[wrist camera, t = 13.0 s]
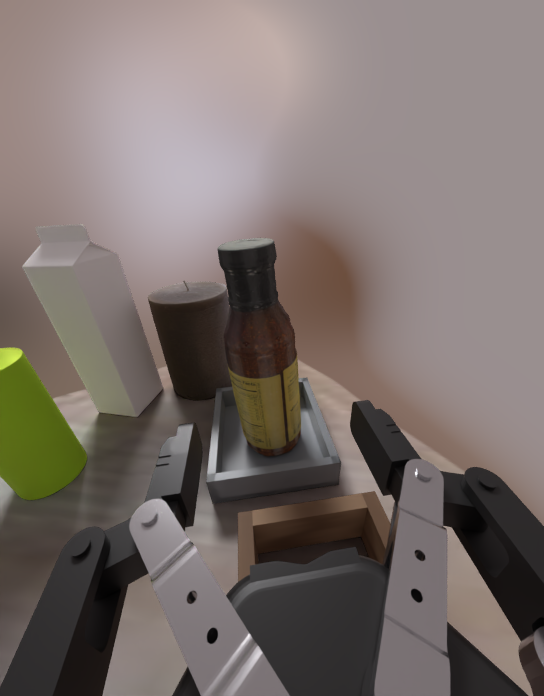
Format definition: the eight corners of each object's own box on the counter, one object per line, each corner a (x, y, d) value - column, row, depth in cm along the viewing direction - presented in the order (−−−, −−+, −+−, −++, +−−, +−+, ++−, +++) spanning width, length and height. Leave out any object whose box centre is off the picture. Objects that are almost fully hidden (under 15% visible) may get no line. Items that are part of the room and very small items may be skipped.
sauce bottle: (282, 407, 32) (271, 232, 22) (313, 443, 27) (316, 238, 17) (233, 430, 29) (194, 242, 19) (257, 473, 24) (222, 253, 15)
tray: (212, 503, 23) (206, 482, 21) (220, 407, 34) (216, 388, 32) (338, 484, 24) (341, 462, 22) (306, 396, 34) (306, 377, 33)
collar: (251, 842, 11) (239, 852, 9) (244, 540, 20) (238, 512, 18) (477, 786, 11) (514, 783, 9) (368, 520, 21) (374, 491, 19)
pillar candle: (187, 410, 33) (156, 299, 26) (165, 376, 40) (135, 280, 33) (251, 381, 38) (240, 280, 31) (221, 355, 45) (206, 267, 38)
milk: (137, 418, 33) (54, 227, 22) (97, 413, 34) (-1, 230, 23) (164, 387, 38) (107, 221, 27) (128, 384, 39) (60, 223, 28)
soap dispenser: (106, 460, 28) (-5, 268, 18) (24, 513, 23) (-186, 297, 13) (86, 433, 31) (-16, 261, 21) (12, 476, 27) (-162, 282, 17)
